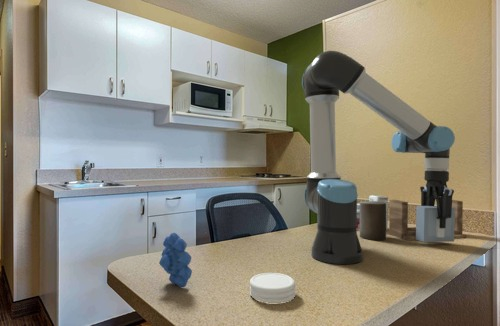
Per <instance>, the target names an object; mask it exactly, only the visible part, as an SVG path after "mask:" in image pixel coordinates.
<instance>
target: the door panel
mask: <svg viewBox="0 0 500 326" xmlns="http://www.w3.org/2000/svg"><path fill="white" fill-rule="evenodd" d="M415 216H416V219H415V222H416V223H415V227H416V239H417V240H416V241H420V242H422V243H437V242H438V243H440V242H441V243H442V242H452V243H453V242H455V238H454V223H455V208H454V207H452V213H451V218H447V219H446V227H445V231H444V237H439V238H437V237H436V217H438V211H437V205H434V206H421V205H416V215H415Z"/></svg>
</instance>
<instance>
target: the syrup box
mask: <svg viewBox="0 0 500 326" xmlns="http://www.w3.org/2000/svg"><path fill="white" fill-rule="evenodd" d="M368 198H369V199H368V201H378V202H385V203H386V231H388V229H389V228H388V225H389V223H388V222H389V215H388V214H389V196H382V195H377V194H374V195H373V194H372V195H369V197H368Z"/></svg>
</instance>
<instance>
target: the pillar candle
mask: <svg viewBox="0 0 500 326" xmlns="http://www.w3.org/2000/svg"><path fill="white" fill-rule="evenodd" d="M359 204H360V231H359V237H360V238H361V239H365V240H371V241H383V240H386V239H387V230H386V203H385V202H378V201H369V200H364V201H359Z"/></svg>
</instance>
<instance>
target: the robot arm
mask: <svg viewBox="0 0 500 326" xmlns="http://www.w3.org/2000/svg"><path fill="white" fill-rule="evenodd" d="M301 86H302V88H303V90H304V97H305V98H304V99H305V101H306V103H307V104H309V133H310V134H309V138H310V139H309V140H310V143H309V144H310V146H309V147H310V173H308V175H307V176H306V187H305V189H304V192H303V199H304V203H305V204H306V206H307V208H308V209H309V210H310V211H312V213H315V214H317V218H316V219H317V220H316V221H317V224H316V225H317V227H316V228H317V232H316V233H315V237H314V239H313V243H312V246H311V257H312V258H313V259H315V260H316V261H320V262H324V263H328V264H334V265H335V264H336V265H354V264H357V263H358V264H359V263H360V262H362V261H363V259H364V258H363V256H364V255H363V249H362V246H361V243H360V240H359V237H358V233H357V204H358V196H359V195H358V190H357V189H358V187H357V186H356V184H355V183H354V182H352V181H350V180H345V179H342V178H341V175H340V174H339V173H338V172H337V156H336V155H337V154H336V102H337V101H338V100H339V99H340V92H341V93H343V94H344V95H345V94H349V95H351V96H352V97H354V98H355V99H356V100H358V101H359V102H361V103H362V104H363V105H365V106H366V107H367V108H368V109H369V110H371V111H373V112H374V113H375V114H377V115H379V117H380V118H382V119H384V120H385V121H386V122H387V123H389V124H390V125H392V126H393V127H394V128H396V129H397V130H398V131H395V132H394V133H393V135H392V137H391V148H392V150H393V151H394V152H396V153H402V154H404V153H406V154H408V153H409V154H424V169H425V170H424V181H426V184H425V185H424V186H420V195H421V196H420V198H421V199H420V206H437V211H438V217H436V237H437V238H439V237H444V231H445V227H446V219H447V218H451V213H452V200H453V195H454V193H455V190H454V189H451V188H448V185H447V182H449V181H450V172H449V171H448V170H450V150H451V148H452V147H453V145H454V144H455V141H456V140H455V139H456V137H455V133H454V131H453V130H452V129H451V128H450V127H448V126H443V125H441V126H440V125H438V126H437V125H436V124H435V123H433V122H431V121H430V120H429V119H428V118H426V117H425V116H423V115H422V114H421V113H420V112H418V111H417V110H415V109H414V108H413V107H412V106H410V105H409V104H408V103H407V102H405V101H403V99H402V98H400V97H399V96H397V95H396V94H395V93H393V92H392V91H390V90H389V89H388V88H386V87H385V86H384V85H383V84H381V83H380V82H379V81H377V80H376V79H374V78H373V77H372V76H370V75H369V74H368V73H367V72H366V67H365V66H363V65H362V64H361V63H359V62H358V61H357V60H356V59H354V58H352V57H351V56H349V55H347V54H345V53H343V52H340V51H337V50H327V51H323V52H320V54H318V55H317V56H316V57H314V59H313V61H312V62H311V63H310V64H309V65H308V66H307V67H306V69H305V70H304V72H303V74H302V79H301ZM435 204H436V205H435Z"/></svg>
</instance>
